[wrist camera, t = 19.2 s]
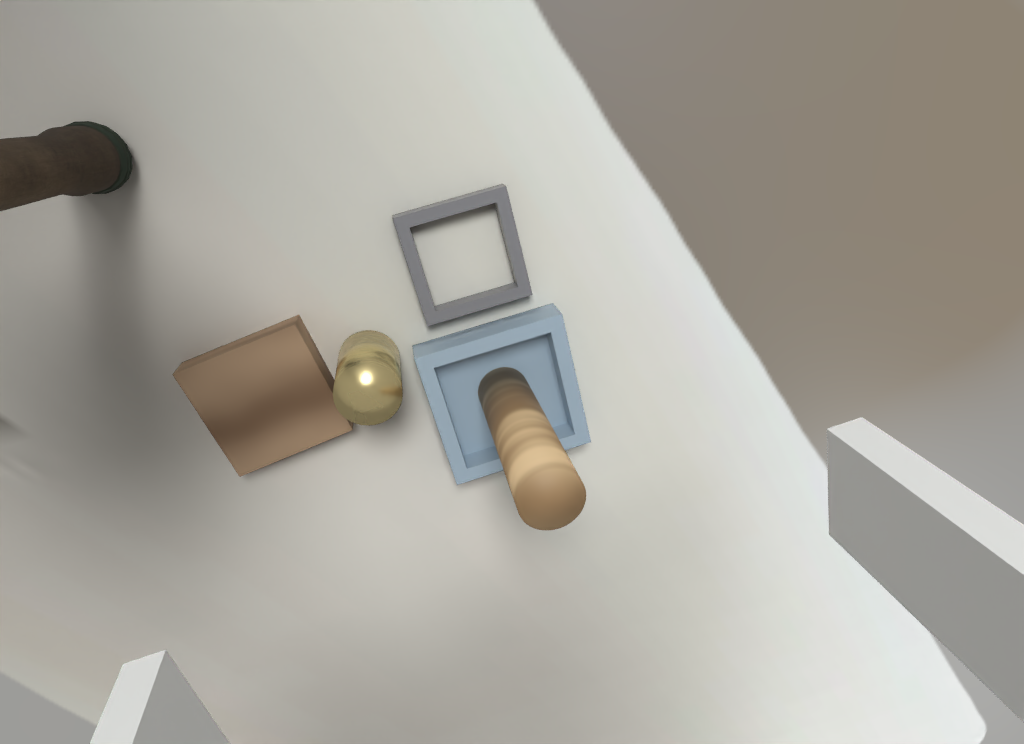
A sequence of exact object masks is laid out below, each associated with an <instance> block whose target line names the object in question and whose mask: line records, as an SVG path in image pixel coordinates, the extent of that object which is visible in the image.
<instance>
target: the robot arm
mask: <svg viewBox="0 0 1024 744" xmlns="http://www.w3.org/2000/svg"><path fill="white" fill-rule="evenodd" d="M827 462H828V508H829V535H830V536H831V537H832V538H833V539H834V540H835V541H836V542H837V543H838V544H839V545H840V546H841V547H843V548H844V549H845V550H846V551H847V552H848V553H849V554H850V555H851V556H852V557H853V558H854V559H855V560H856V561H857V562H858V563H859V564H860V565H861V566H862V567H863V568H864V569H865V570H866V571H867V572H868V573H869V574H870V575H871V576H873V577H874V578H875V579H876V580H877V581H878V582H879V583H880V584H881V585H882V586H883V587H884V588H885V589H886V590H887V591H888V592H889V593H890V594H891V595H892V596H893V597H894V598H895V599H896V600H897V601H898V602H899V603H900V604H902V605H903V606H904V607H905V608H906V609H907V610H908V611H909V612H910V613H911V614H912V615H913V616H914V617H915V618H916V619H917V620H918V621H919V622H920V623H921V624H922V625H923V626H924V627H925V628H926V629H927V630H928V631H929V632H930V633H932V634H933V635H934V636H935V637H936V638H937V639H938V640H939V641H940V642H941V643H942V644H943V645H944V646H945V647H946V648H947V649H948V650H949V651H950V652H951V653H952V654H953V655H954V656H955V657H956V658H957V659H958V660H959V661H961V662H962V663H963V664H964V665H965V666H966V667H967V668H968V669H969V670H970V671H971V672H972V673H973V674H974V675H975V676H976V677H977V678H978V679H979V680H980V681H981V682H982V683H983V684H984V685H985V686H986V687H987V688H989V690H991V691H992V692H993V693H994V694H995V695H996V696H997V697H998V698H999V699H1000V700H1001V701H1002V702H1003V703H1004V704H1005V705H1006V706H1007V707H1008V708H1009V709H1010V710H1011V711H1012V712H1013V713H1014V714H1016V715H1017V717H1018V718H1020V719H1021V720H1022V721H1023V722H1024V525H1023V524H1021V523H1020V522H1019V521H1017V520H1016V519H1014V518H1013V517H1011V516H1010V515H1008V514H1007V513H1005V512H1004V511H1002V510H1001V509H999V508H998V507H996V506H994V505H993V504H991V503H990V502H989V501H987V500H985V499H984V498H983V497H981V496H980V495H978V494H976V493H975V492H973V491H972V490H970V489H969V488H967V487H966V486H964V485H963V484H961V483H960V482H958V481H957V480H955V479H954V478H952V477H951V476H949V475H948V474H946V473H945V472H943V471H942V470H940V469H939V468H937V467H936V466H934V465H933V464H931V463H930V462H928V461H927V460H925V459H924V458H922V457H921V456H919V455H918V454H916V453H915V452H913V451H912V450H910V449H909V448H907V447H906V446H904V445H903V444H901V443H900V442H898V441H897V440H895V439H894V438H892V437H891V436H889V435H888V434H886V433H885V432H883V431H882V430H880V429H879V428H877V427H876V426H874V425H873V424H871V423H870V422H868V421H867V420H865V419H864V418H862V417H861V418H858V419H855V420H852V421H849V422H846V423H843V424H840V425H837V426H834V427H831V428H828V429H827ZM90 744H230V743H229V741H228V740H227V738H226V737H225V735H224V734H223V732H222V731H221V729H220V728H219V726H218V725H217V724H216V722H215V721H214V719H213V718H212V716H211V715H210V713H209V712H208V710H207V709H206V708H205V706H204V705H203V703H202V702H201V700H200V699H199V697H198V696H197V694H196V693H195V692H194V690H193V689H192V687H191V686H190V684H189V683H188V681H187V680H186V678H185V677H184V675H183V674H182V673H181V671H180V670H179V668H178V667H177V665H176V664H175V662H174V661H173V659H172V658H171V657H170V655H169V654H168V652H167V651H166V650H163V651H160V652H157V653H154V654H151V655H148V656H145V657H142V658H139V659H136V660H133V661H130V662H127V663H124V664H123V666H122V668H121V670H120V673H119V675H118V677H117V680H116V682H115V685H114V687H113V689H112V692H111V694H110V696H109V699H108V701H107V704H106V706H105V708H104V711H103V713H102V715H101V718H100V720H99V723H98V725H97V727H96V730H95V732H94V734H93V737H92V739H91V742H90Z"/></svg>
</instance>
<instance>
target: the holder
mask: <svg viewBox="0 0 1024 744" xmlns="http://www.w3.org/2000/svg"><path fill="white" fill-rule="evenodd" d="M493 203H495V207H496V211H497V215H498V219H499V223H500V227H501V231H502V235H503V239H504V242H505V246H506V250H507V254H508V258H509V262H510V266H511V270H512V274H513V278H514V283H511V284H508V285H504V286H501V287H498V288H494V289H491V290H488V291H484V292H481V293H477V294H474V295H471V296H467V297H464V298H461V299H457V300H454V301H451V302H447V303H444V304H441V305H437V306H434V304H433V300H432V297H431V294H430V291H429V288H428V284H427V281H426V278H425V275H424V272H423V268H422V265H421V262H420V259H419V256H418V253H417V249H416V246H415V243H414V240H413V237H412V233H411V230H410V227H413V226H416V225H420V224H423V223H427V222H430V221H434V220H437V219H441V218H444V217H448V216H451V215H455V214H458V213H462V212H465V211H469V210H472V209H476V208H479V207H482V206H486V205H489V204H493ZM392 217H393V221H394V224H395V227H396V230H397V233H398V236H399V239H400V242H401V246H402V249H403V252H404V255H405V258H406V261H407V264H408V267H409V270H410V273H411V277H412V280H413V283H414V286H415V289H416V292H417V295H418V298H419V301H420V304H421V308H422V311H423V314H424V317H425V320H426V323H427V326H430V325H434V324H437V323H440V322H444V321H447V320H450V319H454V318H457V317H460V316H464V315H467V314H470V313H474V312H477V311H480V310H484V309H487V308H490V307H494V306H497V305H500V304H504V303H507V302H510V301H514V300H517V299H520V298H524V297H527V296H530V295H532V291H531V286H530V282H529V278H528V274H527V270H526V266H525V262H524V258H523V254H522V249H521V245H520V241H519V237H518V233H517V229H516V225H515V221H514V217H513V212H512V208H511V204H510V200H509V196H508V192H507V188H506V186H505V185H504V184H500V185H497V186H493V187H490V188H486V189H483V190H479V191H476V192H472V193H469V194H465V195H462V196H458V197H455V198H451V199H448V200H444V201H441V202H437V203H434V204H430V205H427V206H423V207H420V208H416V209H413V210H409V211H406V212H402V213H399V214H395V215H392Z"/></svg>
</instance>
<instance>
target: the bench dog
mask: <svg viewBox="0 0 1024 744" xmlns="http://www.w3.org/2000/svg"><path fill="white" fill-rule="evenodd" d="M402 397H403V392H402V380H401V368H400V357H399V351H398V349H397V346H396V345H395V343H394V342H393V341H392V340H391V339H390V338H389V337H388V336H386V335H385V334H383V333H380V332H377V331H371V330H367V331H361V332H357V333H355V334H353V335H351V336H350V337H349V338H348V339H346V341H345V342H344V343H343V345H342V346H341V349H340V352H339V357H338V363H337V370H336V376H335V382H334V388H333V400H334V404H335V406H336V408H337V410H338V411H339V413H340V414H341V415H342V416H343V417H345V418H346V419H347V420H349V421H351V422H353V423H356V424H359V425H376V424H380V423H382V422H385V421H386V420H388V419H390V418H391V417H392V416H393V415H394V414H395V413H396V412H397V410H398V409H399V407H400V405H401V402H402Z"/></svg>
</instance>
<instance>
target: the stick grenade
mask: <svg viewBox="0 0 1024 744" xmlns="http://www.w3.org/2000/svg"><path fill="white" fill-rule="evenodd" d="M131 170H132V156H131V154H130V151H129V149H128V147H127V144H126V143H125V142H124V141H123V140H122V138H121V137H120V136H119V135H118V134H117V133H116V132H114V131H113V130H111V129H110V128H108V127H107V126H104V125H101V124H97V123H94V122H89V121H85V122H73V123H71V124H68V125H66V126H63V127H56V128H51V129H48V130H46V131H44V132H42V133H41V134H39V135H38V136H31V137H19V138H6V139H0V211H3V210H7V209H10V208H14V207H18V206H21V205H25V204H29V203H32V202H36V201H40V200H43V199H47V198H51V197H54V196H58V195H62V194H64V195H69V196H83V195H87V194H91V193H92V194H106V193H109V192H111V191H114V190H116V189H118V188H120V187H121V186H122V185H123V184H124V183H125V182H126V181H127V180H128V179H129V176H130V173H131Z"/></svg>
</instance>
